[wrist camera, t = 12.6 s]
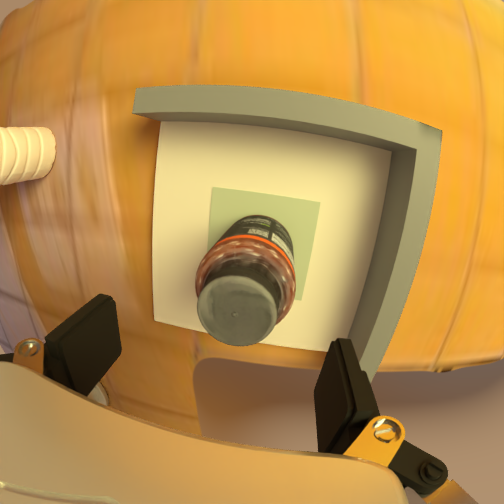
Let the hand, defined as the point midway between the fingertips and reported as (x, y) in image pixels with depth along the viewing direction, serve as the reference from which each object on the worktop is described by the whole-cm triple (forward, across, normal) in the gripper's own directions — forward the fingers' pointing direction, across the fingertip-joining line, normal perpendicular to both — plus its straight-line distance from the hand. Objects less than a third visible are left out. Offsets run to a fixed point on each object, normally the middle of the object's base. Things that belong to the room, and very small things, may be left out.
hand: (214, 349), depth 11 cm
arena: (+15, -2, -2) cm, 15 cm away
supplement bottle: (+14, -1, 0) cm, 14 cm away
